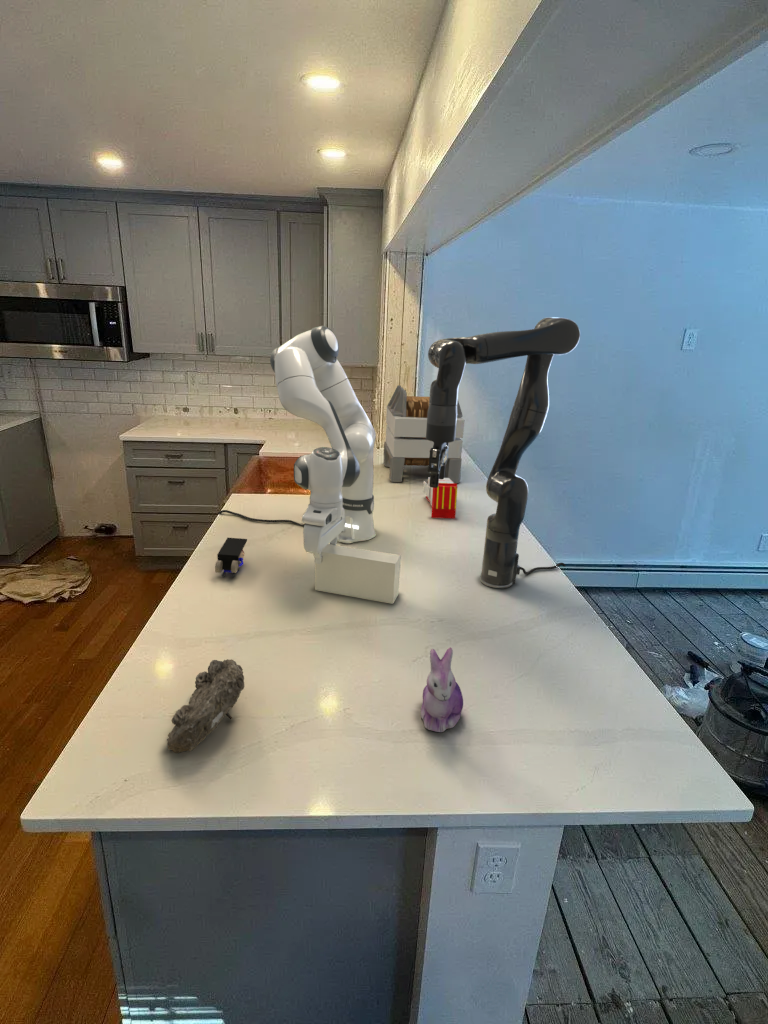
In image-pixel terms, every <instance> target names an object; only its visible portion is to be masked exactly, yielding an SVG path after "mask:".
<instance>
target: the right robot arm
mask: <svg viewBox="0 0 768 1024" xmlns="http://www.w3.org/2000/svg"><path fill="white" fill-rule="evenodd" d="M580 338H581V330H580V327H579V325H578V324H577V323H576V322H575V321H574V320H572V319H570V318H567V317H557V316H556V317H555V316H548V317H547V316H546V317H543V318H542V319H540V320H539V321H538V322H537V323H536V325H535V326H534V328H532V329H523V330H522V329H521V330H505V331H503V330H502V331H495V332H486V333H481V334H476V335H471V336H461V337H448V338H441V339H438V340H436V341H434V342H433V343H432V344H431V345H430V347H429V349H428V352H427V358H428V360H429V362H430V364H431V365H432V366H433V367H435V368H436V369H438V370H437V375H436V379H434V380H433V381H432V382H431V384H430V388H429V389H430V390H429V397H430V399H429V408H428V413H427V428H426V439H427V440H429V441H432V442H434V445H433V448H431V449H430V457H429V465H428V469H427V472H428V473H429V477H430V485H429V486H430V487H433V488H437V487H438V484H439V479H444V475H445V466H444V465H446V464H447V462H446V461H447V460H448V447H449V443H450V442H453V441H454V440H455V435H456V423H457V400H458V401H459V388H460V384H461V381H462V379H463V375H464V371H465V367H466V364H468V365H469V364H470V365H481V364H488V363H493V362H497V361H503V360H508V359H509V360H510V359H513V358H520V357H525V356H526V360H525V361H526V362H525V366H524V370H523V373H522V377H521V379H520V383H519V387H518V391H517V394H516V397H515V399H514V403H513V405H512V409H511V412H510V415H509V420H508V423H507V426H506V430H505V432H504V436H503V439H502V441H501V442H502V443H501V444H500V447H499V451H498V453H497V455H496V458H495V460H494V462H493V465H492V467H491V470H490V473H489V474H488V477H487V481H486V484H485V491H486V494H487V496H488V497H489V498H490V499H491V500H492V501H494V502H495V503H497V504H496V505H497V506H496V511H495V513H491V514H490V515H488V517H487V519H486V528H485V536H484V537H485V538H484V546H483V555H482V563H481V573H480V582H481V583H482V584H483V585H485V586H486V587H488V588H493V589H508V588H510V587H512V585H515V584H516V579H517V576H519V575H520V572H523V574H524V575H527V576H528V575H531V573H533V572H535V571H539V570H554V569H557V568H558V567H560V566H563V567H566V566H567V565H566V564H565V563H564V562H559V563H557V564H555V565H556V566H557V567H556V566H555V565H552V566H538V567H534V568H531V569H530V570H528V571H527V570H526V569H525V568H524V567H522V566H520V565H519V559H520V554H519V553H518V552H517V550H518V544H519V543H518V542H519V534H520V527H521V525H522V523H523V521H524V519H525V514H526V509H527V504H528V498H529V485H528V483H527V481H526V479H524V478H522V476H519V475H517V471H518V467H519V465H520V463H521V462H520V461H521V459H522V457H523V455H524V453H525V452H526V451H527V450H528V448H529V447H530V446H532V444H533V443H534V442H535V441H536V439H537V438H538V437H539V435H540V434H541V432H542V430H543V427H544V424H545V421H546V419H547V416H548V412H549V408H550V395H549V394H550V391H549V380H548V379H549V371H550V367H551V364H552V361H553V358H554V356H563V355H567V354H569V353H571V352H572V351H573V350H574V349H576V347H577V346H578V344H579V342H580ZM434 465H436V466H434Z"/></svg>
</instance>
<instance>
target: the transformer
mask: <svg viewBox="0 0 768 1024" xmlns="http://www.w3.org/2000/svg"><path fill="white" fill-rule="evenodd" d="M407 394H408V393H407V390H406V389H404V388H403V387H402V385H399V384H398V385H397V386H396V388H395V390H394V392H393V394H392V395H391V398H390V400H389V402H388V404H387V405H386V413H385V414H386V415H385V423H386V428H385V438H384V442H383V466H384V467H388V468H389V475H388V476H389V477H388V478H389V480H390V482H391V483H402V482H403V475H404V469H405V466H406V467H407V466H411V467H412V466H413V467H415V466H416V467H417V466H418V467H429V457H430V449H431V448H433V445H434V442H432V441H429V440H427V439H426V428H427V413H428V408H429V399H430V396H415V395H414V396H413V395H412V396H411V395H407ZM464 429H465V419H464V418H463V411H462V408H461V405H460V402H459V399H458V400H457V423H456V435H455V440H454V441H453V442H450V443H449V447H448V460H447V461H446V462H447V464H446V465H444V466H445V475H444V478H449V479H450V480H451V481H452V482H453V483H454V484H459V483H461V472H462V461H463V460H462V453H463V442H464V441H463V440H462V439H463V438H464V431H465V430H464ZM433 467H436V465H434V466H433Z"/></svg>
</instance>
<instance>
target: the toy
mask: <svg viewBox="0 0 768 1024" xmlns="http://www.w3.org/2000/svg"><path fill="white" fill-rule="evenodd" d="M429 485H430V476H428V477H427V482H426V481H425V480H423V484H422V493H424V494H425V498H426V500H427V501H428V502H429V504H430V506H431V517H430V518H432V519H456V514H457V513H456V512H457V498H458V483H453V482H452V481H451V480H450V479H449V478H444V479H439V484H438V487H437V488H433V487H430V486H429Z"/></svg>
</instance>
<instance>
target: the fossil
mask: <svg viewBox="0 0 768 1024" xmlns="http://www.w3.org/2000/svg"><path fill="white" fill-rule="evenodd" d="M243 670H244V669H243V667H242V665H240V664H237V662H236V661H235V660H234V659H232V658H231V659H227V658H226V659H224V660H223V661H222V660H217V659H212V660H211V661H210V663H209V665H208V666H207V671H201V672H199V673H198V674H197V675H196V676H195V680H194V684H195V685H194V687H195V689H194V690H193V693H192V694H191V697H190V698H189V700H188V704H184V705H182V706H181V707H180V709H177V710H176V711H175V713H174V715H173V716H172V718H171V723H172V724H173V727H172V730H171V731H170V732H168V734H167V738H166V741H167V742H166V745H167V749H168V750H169V751H173V752H174V753H176V754H178V753H182V752H188V751H189V752H192V751H193V750H195V748H196V747H197V746H199V744H200V743H201V742H203V741H204V740H205V739H206V738H207V737H208V736H209V735H210V734H211V733H212V732H214V730H215V729H217V727H218V726H219V724H220V722H221V721H222V720H223V719H224V718H225V716H226V717H227V719H229V720H233V717H232V715H230V714H229V710H230V709H231V708H234V706H235V704H236V703H237V702H238V699H239V697H240V695H241V693H242V691H243V690H245V689H244V688H245V675H244V671H243Z"/></svg>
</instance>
